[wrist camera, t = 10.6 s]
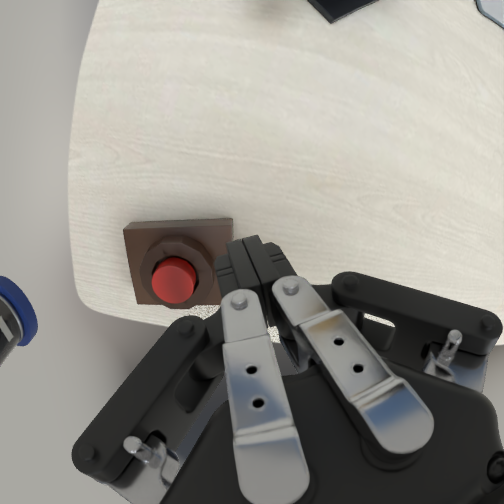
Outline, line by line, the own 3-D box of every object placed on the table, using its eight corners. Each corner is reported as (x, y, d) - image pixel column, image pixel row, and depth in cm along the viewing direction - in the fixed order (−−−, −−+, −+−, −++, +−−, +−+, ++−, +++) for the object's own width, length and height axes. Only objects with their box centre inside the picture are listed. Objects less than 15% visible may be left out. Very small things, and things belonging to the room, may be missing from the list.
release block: (143, 293, 29) (131, 314, 26) (130, 222, 26) (114, 236, 23) (235, 293, 30) (234, 315, 26) (232, 218, 27) (230, 232, 23)
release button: (159, 293, 25) (155, 303, 24) (153, 257, 24) (148, 266, 22) (198, 293, 25) (195, 304, 24) (194, 256, 24) (190, 265, 22)
